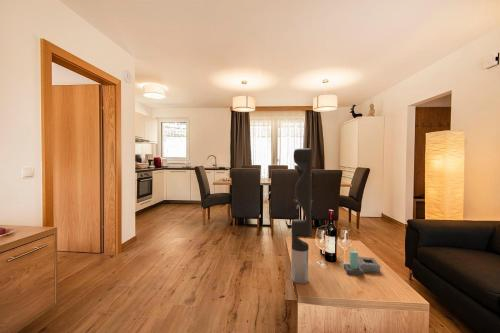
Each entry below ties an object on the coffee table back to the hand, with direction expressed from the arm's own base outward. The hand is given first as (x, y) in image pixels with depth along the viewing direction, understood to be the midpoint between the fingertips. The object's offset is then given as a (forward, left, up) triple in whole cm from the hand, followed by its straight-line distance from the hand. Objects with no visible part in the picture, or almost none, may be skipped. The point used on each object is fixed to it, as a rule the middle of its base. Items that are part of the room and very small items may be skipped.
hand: (303, 214), depth 173 cm
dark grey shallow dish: (-25, -29, -28) cm, 47 cm away
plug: (-25, -29, -28) cm, 47 cm away
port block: (-18, -39, -28) cm, 51 cm away
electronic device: (0, -17, -28) cm, 33 cm away
